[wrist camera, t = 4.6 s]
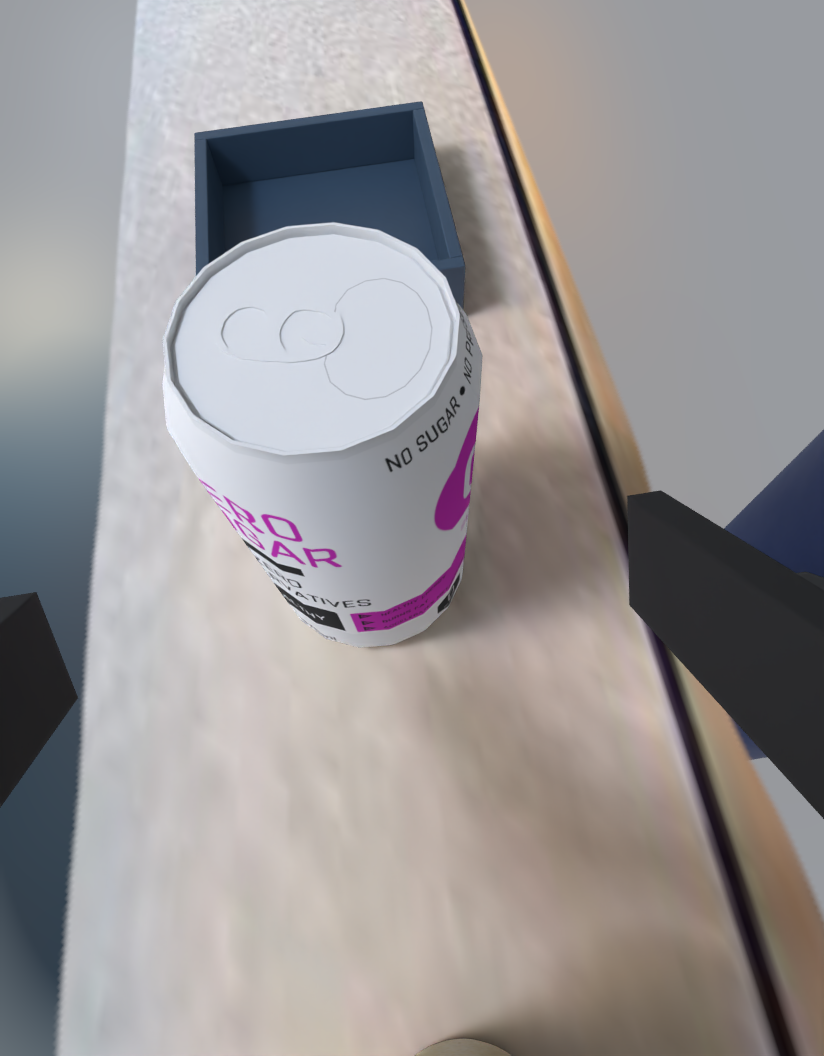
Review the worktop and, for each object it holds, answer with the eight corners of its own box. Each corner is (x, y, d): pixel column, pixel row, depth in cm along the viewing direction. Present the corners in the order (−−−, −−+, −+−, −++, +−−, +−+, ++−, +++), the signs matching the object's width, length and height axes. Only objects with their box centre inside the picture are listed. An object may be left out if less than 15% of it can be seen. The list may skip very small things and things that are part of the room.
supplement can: (467, 488, 30) (493, 210, 16) (456, 660, 26) (474, 495, 12) (301, 477, 30) (187, 200, 16) (268, 643, 27) (90, 468, 13)
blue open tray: (463, 318, 34) (465, 265, 31) (219, 354, 34) (195, 305, 30) (423, 159, 39) (422, 100, 36) (214, 189, 39) (194, 132, 36)
